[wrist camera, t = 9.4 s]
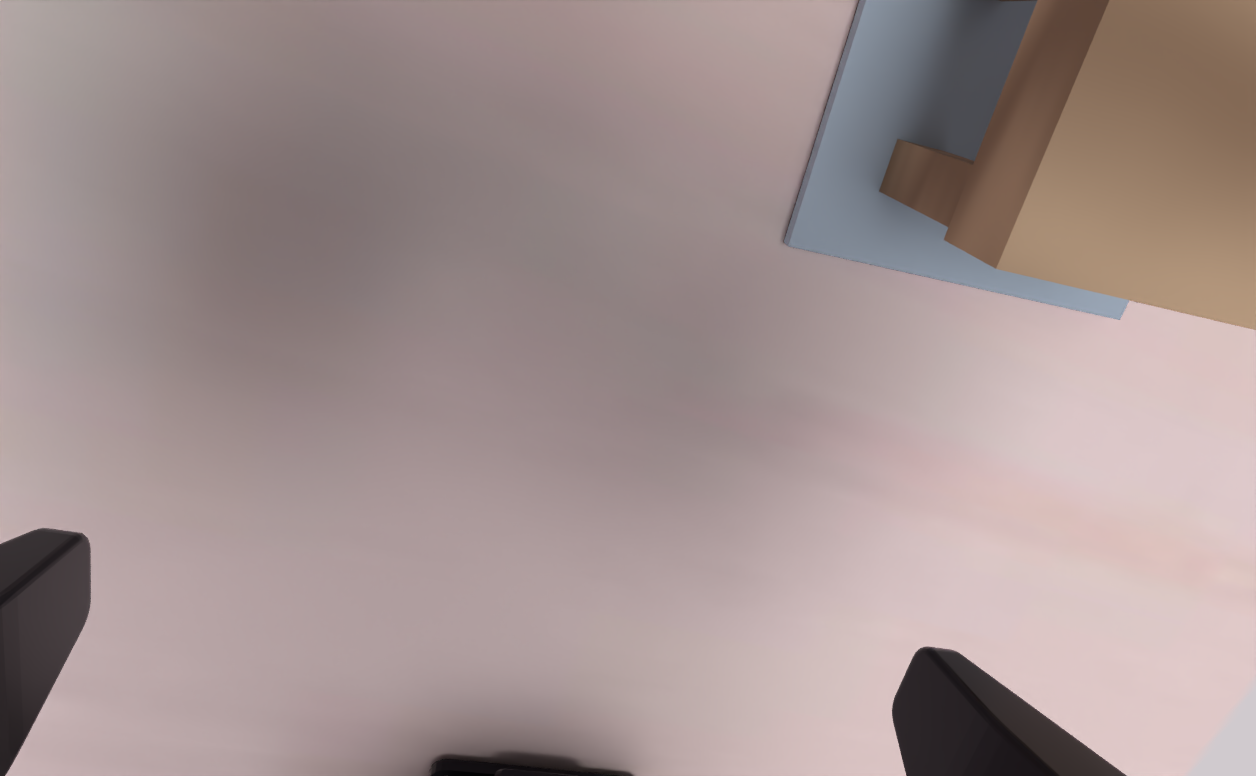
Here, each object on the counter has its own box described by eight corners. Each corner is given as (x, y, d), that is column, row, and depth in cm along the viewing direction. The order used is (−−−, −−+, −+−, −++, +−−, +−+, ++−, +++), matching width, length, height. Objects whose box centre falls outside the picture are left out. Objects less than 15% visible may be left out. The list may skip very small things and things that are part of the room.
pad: (1109, 314, 22) (1119, 320, 21) (783, 242, 20) (788, 246, 20) (1293, -70, 18) (1309, -71, 18) (920, -194, 17) (928, -199, 16)
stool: (1093, 253, 21) (1293, 338, 15) (867, 197, 20) (996, 268, 14) (1214, -11, 18) (1500, -23, 13) (968, -90, 17) (1167, -138, 12)
